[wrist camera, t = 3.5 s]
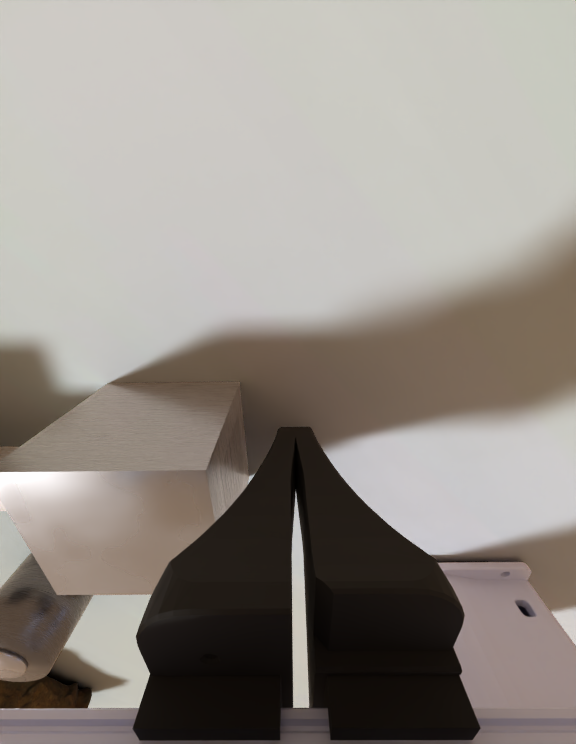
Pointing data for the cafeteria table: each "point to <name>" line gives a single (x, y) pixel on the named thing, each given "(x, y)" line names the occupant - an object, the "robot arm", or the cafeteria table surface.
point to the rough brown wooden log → (42, 695)
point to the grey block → (126, 482)
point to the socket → (34, 623)
